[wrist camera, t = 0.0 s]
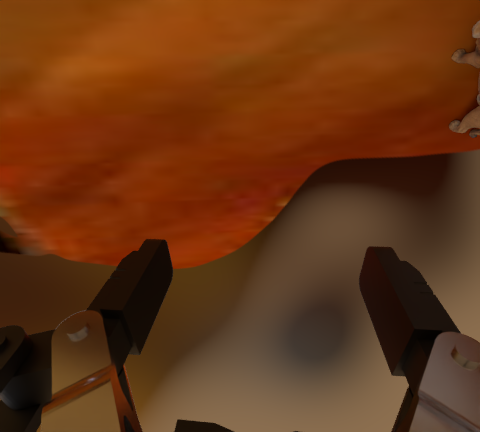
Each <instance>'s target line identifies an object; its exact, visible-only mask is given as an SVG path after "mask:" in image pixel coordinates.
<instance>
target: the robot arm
mask: <svg viewBox="0 0 480 432" xmlns="http://www.w3.org/2000/svg"><path fill="white" fill-rule="evenodd" d="M172 277H173V267H172V262H171V258H170V253H169V249H168V245H167V242H166V240H159V239H146V240H145V241H144V243H143V244H142V246H141V247H140V249H139V250H138V251H133V252H131V253H130V254H129V255H127V256H126V257H125V258H123V259H122V261H121V262H120V263H119V265H118V266H117V268H116V271H114V272H113V273H112V275H111V276H110V279H108V281H107V282H106V283H105V285H104V286H103V287H102V289H101V290H100V292H99V293H98V294H97V296H96V297H95V299H94V300H93V302H92V303H91V304H90V306H89V307H88V308H87V310H86V311H81V312H78V313H76V314H73V315H72V316H70V317H68V318H67V319H66V320H64V321H63V322H62V323H61V324H60V325H59V326H58V327H57V328H56V329H55V330H51V331H46V332H42V333H36V334H32V335H27V333H26V332H25V331H24V329H23V328H22V327H20V326H15V325H14V326H6V327H3V328H0V399H1V401H0V432H36V431H37V429H38V428H39V426H40V424H41V432H143V431H142V428H141V425H140V422H139V420H138V416H137V412H136V409H135V404H134V400H133V396H132V392H131V388H130V384H129V380H128V376H127V372H126V368H125V365H124V363H125V361H126V358H127V356H128V354H133V355H140V354H141V351H142V349H143V347H144V344H145V342H146V339H147V337H148V335H149V333H150V330H151V328H152V325H153V323H154V321H155V319H156V316H157V314H158V312H159V309H160V307H161V304H162V302H163V300H164V298H165V295H166V293H167V291H168V288H169V286H170V283H171V281H172ZM359 286H360V291H361V294H362V297H363V299H364V302H365V305H366V307H367V310H368V313H369V315H370V318H371V321H372V323H373V326H374V329H375V331H376V334H377V337H378V339H379V342H380V345H381V347H382V350H383V353H384V355H385V358H386V361H387V364H388V366H389V369H390V372H391V374H392V375H394V376H405V377H406V379H407V381H408V384H409V387H408V388H407V391H406V393H405V396H404V399H403V402H402V404H401V407H400V409H399V412H398V415H397V418H396V420H395V423H394V426H393V428H392V431H391V432H480V343H479V342H478V341H476V340H475V339H473V338H471V337H469V336H466V335H464V334H461V333H460V331H459V330H458V328H457V327H456V325H455V324H454V322H453V321H452V319H451V318H450V316H449V315H448V313H447V312H446V310H445V309H444V307H443V306H442V304H441V303H440V301H439V300H438V298H437V297H436V296H435V295H433V291H432V290H431V288H430V287H429V285H427V282H426V281H425V279H424V278H423V276H422V275H421V273H420V272H419V271H418V270H417V269H416V268H414V267H413V266H412V265H411V264H409V263H408V262H407V261H400V260H399V258H398V257H397V255H396V253H395V252H394V250H393V249H392V248H391V247H368V248H367V251H366V254H365V258H364V262H363V265H362V269H361V273H360V277H359ZM175 432H233V431H231V430H229V429H227V428H225V427H222V426H220V425H218V424H216V423H208V422H197V421H187V420H177V424H176V428H175ZM295 432H298V431H295Z"/></svg>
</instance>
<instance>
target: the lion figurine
mask: <svg viewBox="0 0 480 432" xmlns="http://www.w3.org/2000/svg"><path fill="white" fill-rule="evenodd" d="M472 33H473V34H472V36H473V37H474V38H477V41H476V44H477V45H476V48H475V50H476V51H474V52H471V53H466V52H465V50H464V49H458V50H457V51H456V52H454V54H453V56H452V57H451V58H452V60H453V61H455V62H457V63H468V64H471V65H473V66H475V67H476V68H480V20H479V21H478V22H477V23H476V24H475V25H474V27H473V29H472ZM478 90H479V95H478V96H477V102H478V104H479V106H478V107H477V108H475V109H474V110H472V111H471V112H469V113H468V114H467V115H466V116H465V117H464V118H463V120H462V122H461V123H460V121H458V120H454V121H452V122H451V123H450V124H449V128H450V130H452V131H454V132H458V133H465V132H466V131H467V130H468V129H470V128H480V73H479V79H478ZM469 135H470V136H471V137H472V138H474V137H477V135H480V129H473V130H471V131H470V134H469Z"/></svg>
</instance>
